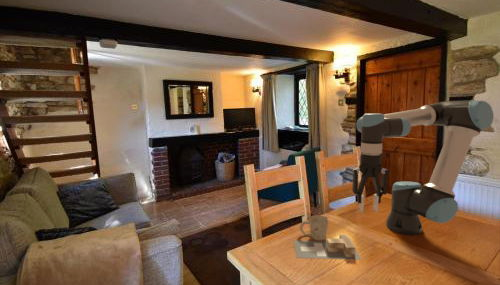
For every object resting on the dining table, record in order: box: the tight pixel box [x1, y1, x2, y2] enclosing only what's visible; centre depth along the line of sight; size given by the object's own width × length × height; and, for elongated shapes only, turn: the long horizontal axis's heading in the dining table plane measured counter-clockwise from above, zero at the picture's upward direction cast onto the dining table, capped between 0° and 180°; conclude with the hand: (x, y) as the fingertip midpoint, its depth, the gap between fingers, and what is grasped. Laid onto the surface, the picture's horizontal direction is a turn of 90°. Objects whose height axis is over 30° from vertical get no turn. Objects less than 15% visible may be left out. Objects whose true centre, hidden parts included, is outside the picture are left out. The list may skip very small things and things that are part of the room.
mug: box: [299, 214, 329, 241], centre depth 117 cm, size 8×13×10 cm, turn 78°
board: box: [293, 240, 363, 261], centre depth 107 cm, size 25×13×2 cm, turn 86°
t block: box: [326, 234, 357, 257], centre depth 106 cm, size 10×10×4 cm
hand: (368, 210), depth 103 cm, fingers open, 5 cm apart
